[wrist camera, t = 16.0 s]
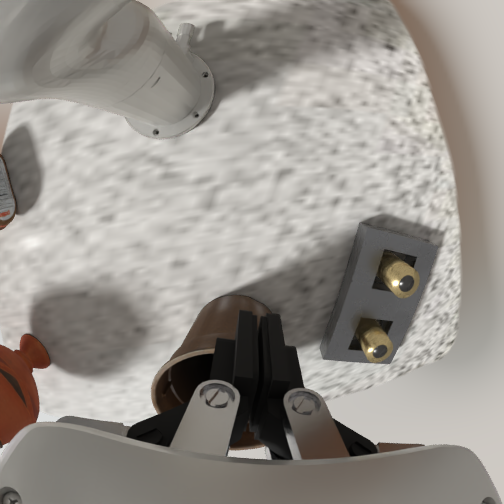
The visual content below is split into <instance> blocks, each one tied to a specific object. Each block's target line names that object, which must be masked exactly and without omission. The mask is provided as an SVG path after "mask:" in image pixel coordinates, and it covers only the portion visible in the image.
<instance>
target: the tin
mask: <svg viewBox="0 0 504 504" xmlns="http://www.w3.org/2000/svg"><path fill="white" fill-rule="evenodd" d="M15 214H16V200H15V197H14V193H13V190H12V186H11V183H10V179H9V175H8V171H7V167H6V163H5V161H4V159H3V157H2V155H1V154H0V230H2V229H4V228H5V227H6V226H7V225H8V224H9V223H10V222H11V221H12V220H13V218H14V216H15Z"/></svg>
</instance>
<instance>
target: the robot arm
mask: <svg viewBox="0 0 504 504" xmlns="http://www.w3.org/2000/svg"><path fill="white" fill-rule="evenodd" d="M194 29H195V26H194V25H192V24H189V23H183V24H181V25H180V27H179V30H178V33H177V39H176V41H175V40H174V38H173V37H172V33H170V32H169V31H168V30H167V29H166V27H165V26H164V24H163V23H162V22H161V20H160V19H159V18H158V16H157V15H156V14H155V13H154V12H153V11H152V10H151V9H150V8H149V7H147V6H146V5H144V4H142V3H140V2H138V1H136V0H0V104H4V103H13V102H22V101H29V100H37V99H60V100H66V101H71V102H75V103H79V104H83V105H87V106H90V107H93V108H97V109H100V110H104V111H107V112H110V113H114V114H117V115H120V116H123V117H125V119H126V121H127V123H128V124H129V125H130V126H131V128H133V129H134V130H135V131H136V132H138V133H139V134H142V135H144V136H146V137H150V138H155V139H169V138H173V137H177V136H179V135H182V134H184V133H186V132H188V131H189V130H191V129H192V128H194V127H195V126H196V125H197V124H198V123H199V122H201V120H202V119H203V118H204V117H205V115H206V114H207V112H208V110H209V108H210V107H211V104H212V101H213V98H214V91H215V86H214V79H213V76H212V73H211V71H210V69H209V67H208V66H207V64H206V63H205V62H204V61H203V60H202V59H201V58H200V57H199V56H197V55H195V54H193V53H191V52H190V49H191V46H190V45H189V42H190V39H191V38H192V35H193V32H194ZM206 75H208V77H207V78H205V76H206ZM197 114H199V117H198V118H196V115H197ZM157 131H159V134H158V135H157ZM248 420H249V431H250V432H254V440H259V441H260V442H261V443H263V444H264V445H265V454H266V458H267V459H249V458H236V457H227V456H228V452H229V448H230V446H231V445H232V444H234V443H235V442H237V441H238V440H240V439H241V437H242V433H243V431H246V427H247V424H248ZM0 504H502V502H501V499H500V497H499V495H498V492H497V490H496V488H495V486H494V484H493V482H492V480H491V478H490V476H489V474H488V472H487V471H486V469H485V467H484V466H483V464H482V463H481V461H480V460H479V459H478V457H477V456H476V455H475V454H474V453H473V452H472V451H471V450H469V449H468V448H465V447H461V446H456V445H429V446H425V445H422V444H398V443H380V442H379V443H378V444H377V445H374V444H373V443H372V442H371V441H370V440H368V439H367V438H365V437H363V436H361V435H360V434H358V433H356V432H354V431H353V430H351V429H350V428H348V427H346V426H345V425H343V424H341V423H340V422H338V421H337V420H335V419H333V418H332V416H331V414H330V412H329V410H328V407H327V405H326V403H325V401H324V399H323V398H322V396H320V395H319V394H318V393H317V392H315V391H313V390H310V389H306V388H304V384H303V380H302V375H301V370H300V365H299V360H298V355H297V351H296V347H295V346H285V343H284V337H283V331H282V325H281V319H280V315H279V314H271V313H266V315H265V316H261V317H260V321H259V326H258V325H257V315H253V312H252V311H248V310H240V309H239V314H238V320H237V326H236V333H235V339H234V340H233V339H226V338H219V337H217V339H216V345H215V350H214V356H213V362H212V367H211V373H210V379H209V380H208V381H205V382H203V383H201V384H200V385H198V387H197V388H196V389H195V392H194V394H193V396H192V398H191V400H190V401H188V402H186V403H183V404H181V405H179V406H177V407H174V408H172V409H170V410H168V411H165V412H163V413H160V414H158V415H156V416H153V417H151V418H148V419H146V420H143V421H141V422H138V423H136V424H135V425H133V426H132V427H130V426H124V425H123V423H117V422H108V421H100V420H93V419H86V418H80V417H75V416H65V417H62V418H60V419H59V420H58V421H56V422H37V423H33V424H29V425H28V426H26V427H24V428H23V429H22V430H20V431H19V432H18V433H17V434H16V435H15V436H14V438H13V439H12V440H11V441H10V442H9V444H8V445H7V447H6V448H5V449H4V451H3V452H2V454H1V456H0Z"/></svg>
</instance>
